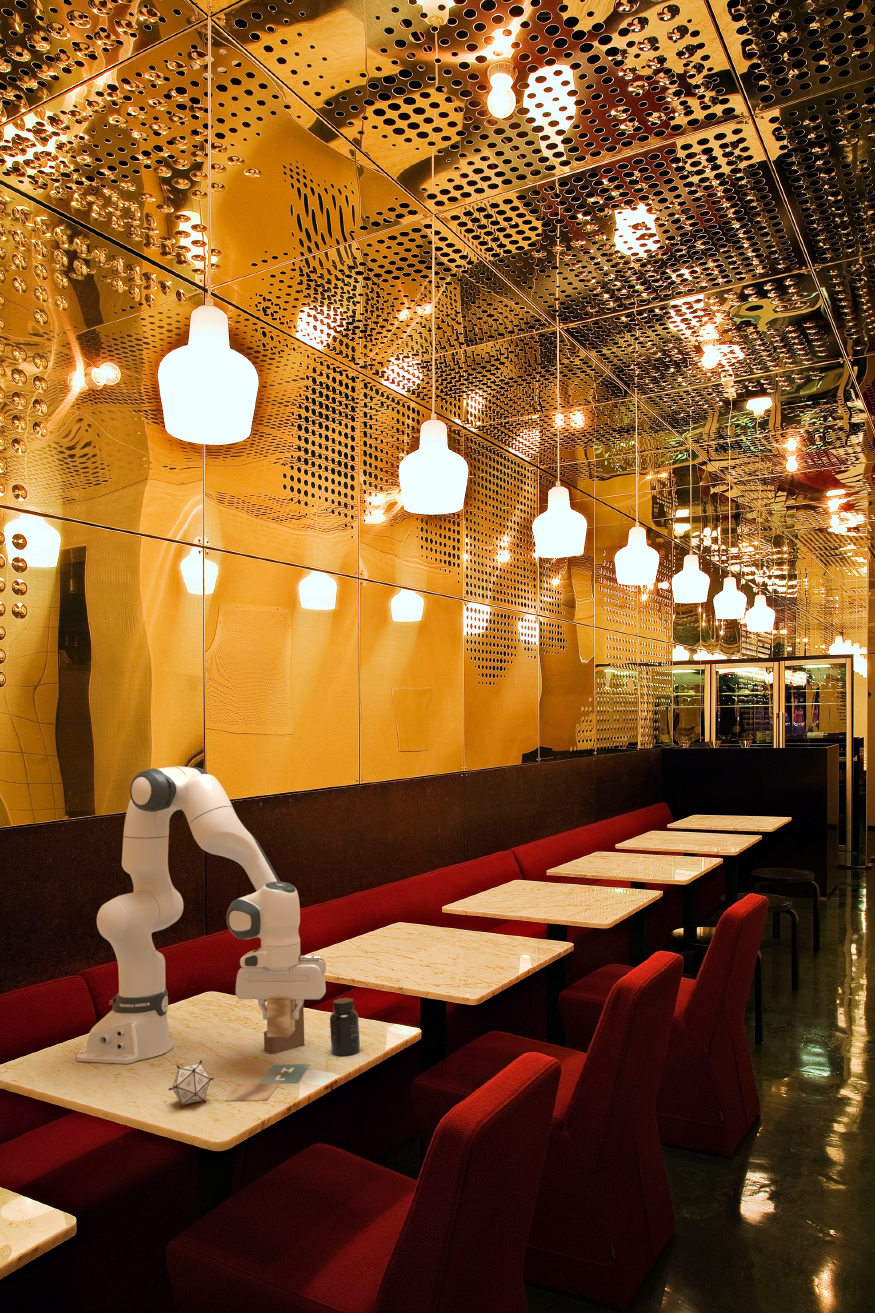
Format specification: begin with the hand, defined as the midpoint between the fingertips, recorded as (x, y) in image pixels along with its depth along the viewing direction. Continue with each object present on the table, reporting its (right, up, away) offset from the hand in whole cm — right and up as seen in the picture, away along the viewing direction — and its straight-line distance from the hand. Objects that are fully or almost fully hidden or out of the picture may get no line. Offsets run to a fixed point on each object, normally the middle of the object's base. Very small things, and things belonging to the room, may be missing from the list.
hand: (281, 1019), depth 196 cm
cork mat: (-4, -11, -12) cm, 17 cm away
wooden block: (-2, -14, +17) cm, 22 cm away
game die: (-16, -11, -16) cm, 25 cm away
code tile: (+1, -12, -2) cm, 12 cm away
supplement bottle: (+13, -13, +11) cm, 22 cm away
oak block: (0, -3, 0) cm, 3 cm away
